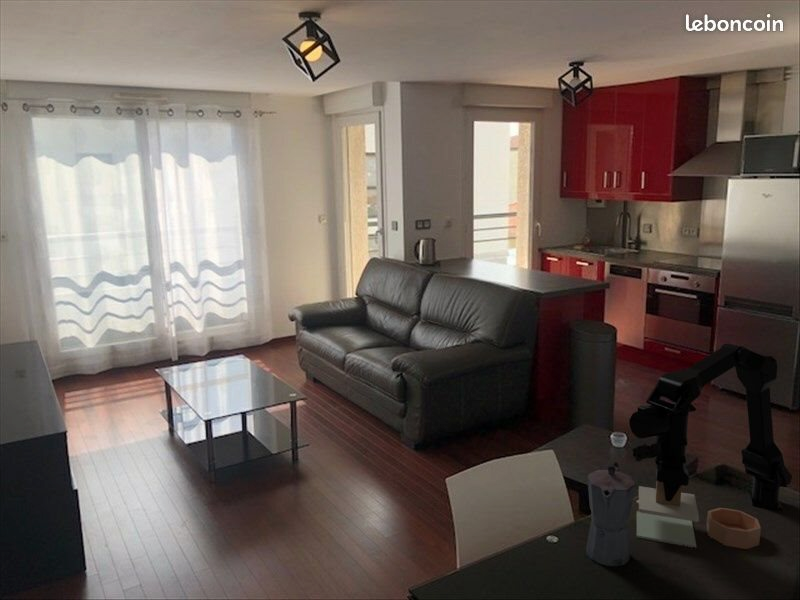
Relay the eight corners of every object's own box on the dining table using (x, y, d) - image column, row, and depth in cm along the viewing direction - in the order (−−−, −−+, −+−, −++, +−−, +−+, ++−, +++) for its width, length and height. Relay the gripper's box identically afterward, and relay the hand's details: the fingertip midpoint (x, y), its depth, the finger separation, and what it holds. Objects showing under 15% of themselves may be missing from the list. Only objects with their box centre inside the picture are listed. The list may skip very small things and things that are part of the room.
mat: (636, 512, 150) (636, 510, 150) (691, 522, 146) (691, 520, 146) (636, 537, 139) (636, 535, 139) (696, 548, 135) (696, 545, 135)
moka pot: (579, 568, 127) (584, 475, 124) (586, 531, 141) (592, 447, 138) (628, 579, 124) (636, 483, 121) (631, 540, 138) (638, 454, 135)
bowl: (705, 521, 147) (706, 505, 146) (753, 529, 143) (755, 513, 143) (709, 542, 137) (711, 525, 137) (761, 551, 134) (763, 534, 133)
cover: (638, 489, 149) (640, 466, 149) (694, 497, 145) (696, 474, 144) (639, 512, 138) (640, 487, 137) (698, 522, 134) (701, 496, 133)
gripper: (634, 413, 151) (630, 475, 153) (634, 441, 133) (629, 509, 136) (685, 419, 147) (680, 482, 149) (691, 448, 129) (685, 519, 132)
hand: (667, 497), depth 142 cm, fingers closed on cover, 3 cm apart
